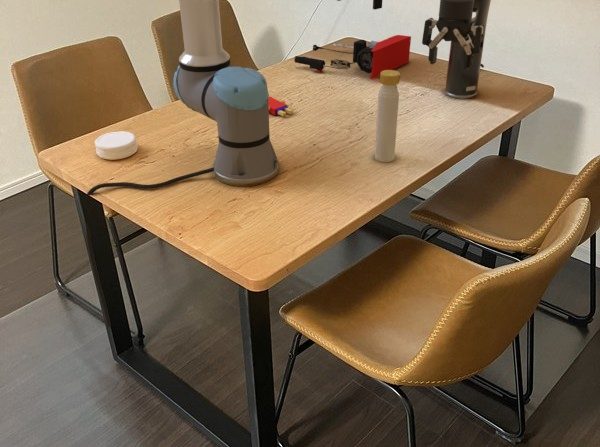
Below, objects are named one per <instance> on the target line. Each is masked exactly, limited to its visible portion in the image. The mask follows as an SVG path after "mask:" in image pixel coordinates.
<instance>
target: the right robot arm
mask: <svg viewBox="0 0 600 447" xmlns="http://www.w3.org/2000/svg"><path fill="white" fill-rule="evenodd" d="M491 1H492V0H439V8H438V9H439V10H438V19H434V17H429V18H428V19H427V18H426V20H425V21H424V26H423V33H422V40H421V44H422V45H423V46H427V47H428V59H427V60H428V62H429V63H430V65H434V64H436V63H437V58H438V49H439V48H438V46H439V45H438V44H440V43H441V42H442V40H444V42H450V45H449V46H450V47H449V54H448V55H449V56H448V64H447V71H446V80H445V88H444V94H445V95H446V96H448V97H449V98H453V99H459V100H467V99H468V100H469V99H473V98H475V97H477V95H478V86H479V78H480V72H481V68H482V69H483V68H485V65H484V64H483V63H482V58H483V53H484V52H483V51H484V44H485V37H486V32H487V31H486V30H487V24H488V16H489V11H490V7H491V3H492V2H491ZM473 13H475V16H474V17H473ZM435 27H436V28H437V31H438V32H439V33H438V34H437V35H436V36H435V37H434V38H433V40H432V35H433V29H434V28H435Z"/></svg>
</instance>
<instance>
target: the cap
mask: <svg viewBox="0 0 600 447" xmlns="http://www.w3.org/2000/svg"><path fill="white" fill-rule="evenodd" d="M400 74H401V73H400V72H399V71H398V70H396V69H393V70H384V71H382V72H381V74H380V76H379V83H380V84H381V85H389V86H391V85H396V86H397V85H399V83H400V80H401V75H400Z"/></svg>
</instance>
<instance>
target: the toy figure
mask: <svg viewBox="0 0 600 447" xmlns="http://www.w3.org/2000/svg"><path fill="white" fill-rule="evenodd" d="M268 104H269V114H271V115H273V116H281V117H286V116H287V114H288V115H291V114H294V109H292V108H289V106H288V104H287V103H286V101H285V100H281V99H280V100H278V99H276V98H274V97H272V96H269V97H268Z"/></svg>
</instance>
